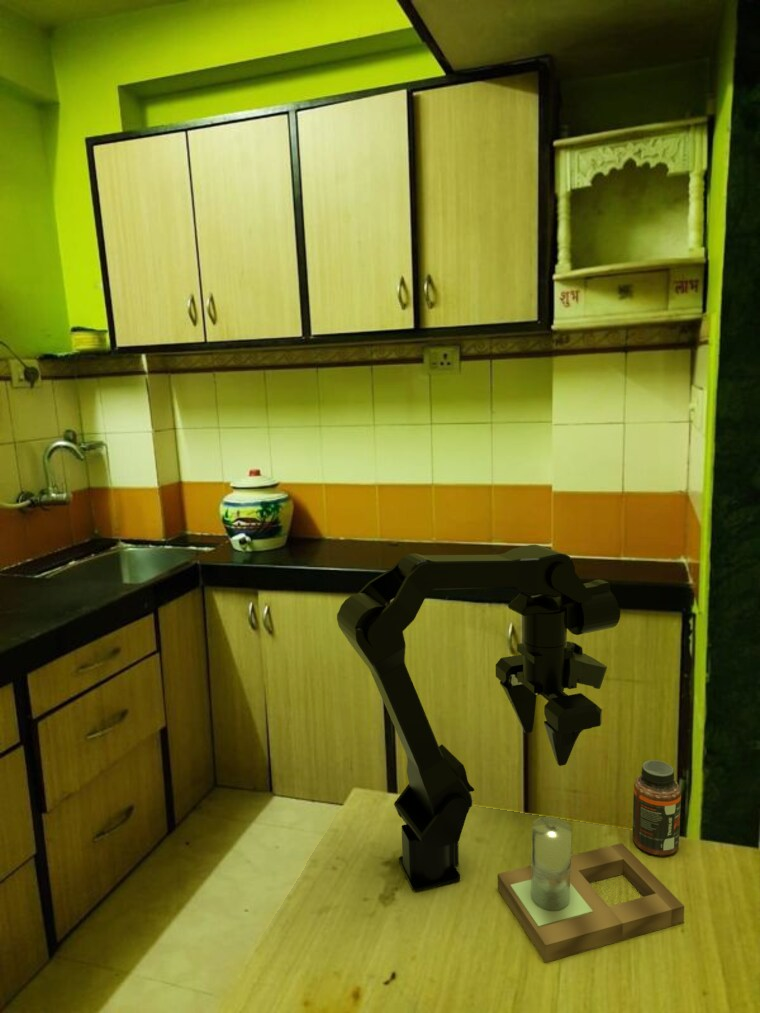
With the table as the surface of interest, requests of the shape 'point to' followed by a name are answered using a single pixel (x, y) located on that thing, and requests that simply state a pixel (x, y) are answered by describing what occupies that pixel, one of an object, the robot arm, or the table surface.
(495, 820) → the table surface
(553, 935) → the pocket block
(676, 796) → the supplement bottle
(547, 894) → the clear glass jar
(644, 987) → the table surface
